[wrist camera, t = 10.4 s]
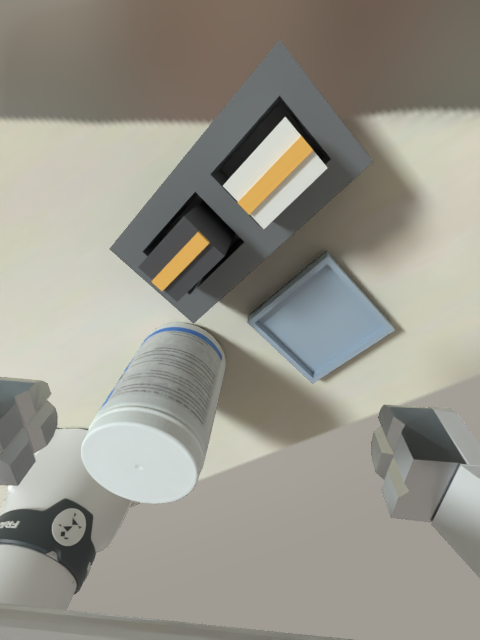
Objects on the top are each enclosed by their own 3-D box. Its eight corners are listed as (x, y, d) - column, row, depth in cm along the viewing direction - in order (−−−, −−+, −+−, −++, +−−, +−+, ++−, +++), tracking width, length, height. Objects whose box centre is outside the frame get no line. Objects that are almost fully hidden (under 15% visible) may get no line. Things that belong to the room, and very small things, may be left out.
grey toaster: (207, 295, 35) (182, 347, 26) (137, 230, 32) (85, 264, 24) (355, 156, 27) (389, 166, 19) (280, 60, 25) (278, 20, 16)
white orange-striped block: (268, 206, 28) (263, 230, 21) (238, 173, 27) (221, 186, 20) (315, 159, 26) (328, 168, 19) (284, 121, 25) (285, 116, 18)
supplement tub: (133, 324, 37) (54, 423, 25) (216, 313, 36) (179, 414, 23) (159, 393, 42) (104, 508, 29) (235, 386, 40) (212, 506, 27)
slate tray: (311, 375, 38) (312, 383, 37) (248, 315, 35) (247, 322, 34) (390, 322, 34) (395, 330, 33) (326, 250, 31) (328, 256, 30)
